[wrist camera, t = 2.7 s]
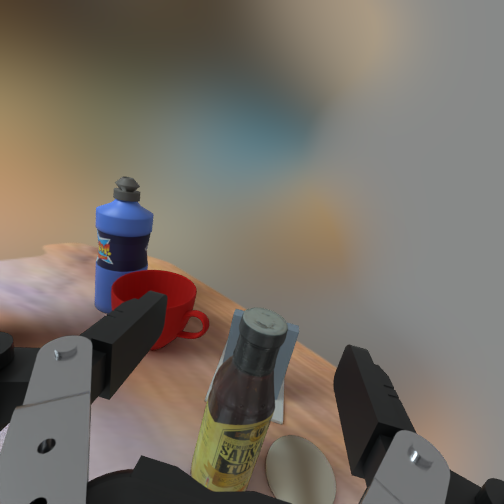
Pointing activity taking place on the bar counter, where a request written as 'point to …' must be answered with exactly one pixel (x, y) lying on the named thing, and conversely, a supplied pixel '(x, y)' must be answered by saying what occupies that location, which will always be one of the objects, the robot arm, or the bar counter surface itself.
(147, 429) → the bar counter surface
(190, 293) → the ceramic cup
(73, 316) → the bar counter surface
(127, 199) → the water bottle
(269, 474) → the coaster
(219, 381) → the sauce bottle
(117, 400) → the bar counter surface
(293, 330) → the tile
